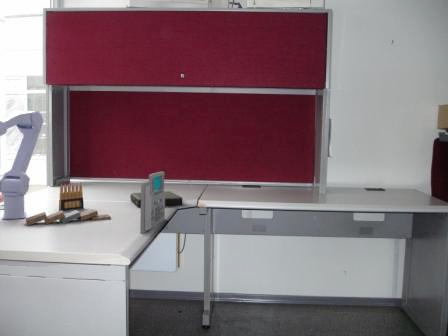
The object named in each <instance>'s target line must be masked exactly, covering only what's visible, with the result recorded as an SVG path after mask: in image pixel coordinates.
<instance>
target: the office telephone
mask: <svg viewBox="0 0 448 336" xmlns="http://www.w3.org/2000/svg"><path fill="white" fill-rule="evenodd" d="M164 192H165V171H158V172H154V173H151V174H149V175H148V181H142V182H141V186H140V193H141V208H140V220H139V221H140V228H139V229H140V231H139V232H140V233H139V234H145V233H146V232H148V231H149V230H151V229H152V228H155V226H157V225H159V224H160V223H161V222H163V221H165V219H166V217H165V216H166V207H165V193H164Z"/></svg>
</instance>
